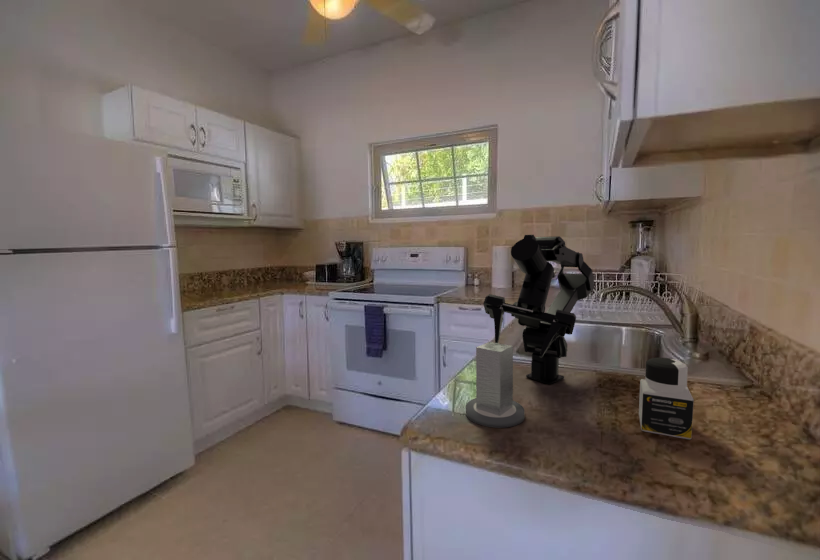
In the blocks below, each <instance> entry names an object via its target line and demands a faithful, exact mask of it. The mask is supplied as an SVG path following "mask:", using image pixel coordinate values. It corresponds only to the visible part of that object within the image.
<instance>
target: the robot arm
mask: <svg viewBox="0 0 820 560" xmlns="http://www.w3.org/2000/svg"><path fill="white" fill-rule="evenodd" d="M510 255H511V257H512V259H513V260H514V262H515V263H516V265H517V266H518V267H519V270H520V272H522V273H524V274H525V275H524V279H523V282H522V285H521V288H520V291H519V295H518V299H517V301H514V303H513V304H510V303H506V299H505V297H504V296H499V295H495V294H491V293H489V294H487V295H486V296H485V299H484V301H483V304H482V305H483V309H484V311H485V314H487V315H489V318H490V319H492V320H493V323H494V343H499V341H500V336H501V330H502V326H503V321H504V314H505V313H507V314H509V315H510V316H511V317H513V318H515V319H517V323H518V325H520V326H521V327H524V326H525V327H524V329H523V332H522V343H523V349H524V352H525V353H531V362H530V363H531V366H530V370H531V371H530V373H528V374H526V375H525V377H526V378H528V379H530V380H534V381H537V382H540V383H543V384H547V385H551V384H554V383H556V382H559V381H562V380H564V379H565V376H564V375H562V374H559V362H560V361H559V360H560V359H562V358H567V357H568V356H567V355H568V353H567V352H568V343H567V340H566V339H565V335H573V332H574V328H575V324H576V319H577V316H576V314H575V313H574V312H572V310H573V309H574V307H575V306H576V304H577V302H578V301H580V300H584V299H586V298H588V297H589V295H590V294H591V292H593V291H594V288H595V280H594V279H595V278H594V274H593V269H592V268H591V267H590V266H589V264H587V262H585V260H584V256H583V253H580V252H579V251H576V250H573V249H571V248H568V247H567V246H566V241H565V240H564V239H563V238H562V237H561V236H536V235H535V234H524V235H523V238H522V239H520V240H518V241H516V243H514V244H513V246H511V248H510ZM551 262H553V263H555V264H558V265H560V269H559V272H558V274H557V282H558V286H559V292H558V294H557V295H556V296H555V298H554V300H553V301H552V302H551V304H550V306H549V307H548V309H547V310H546V302H547V299H548V295H549V292H550V288H551V284H552V280H553V279H554V278H555V277H556V274H555V268H554V266H553V265H552V263H551ZM565 268H577V269H578V270H579V272H580V273H573V272H572V273H570V272H569V273H568V272H564V269H565Z"/></svg>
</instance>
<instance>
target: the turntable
mask: <svg viewBox="0 0 820 560" xmlns="http://www.w3.org/2000/svg"><path fill="white" fill-rule="evenodd" d="M465 415H466V417H467V418H468V420H469V421H471V422H473V423H475V424H477V425H480V426H483V427H488V428H496V429H499V428H500V429H502V428H506V429H507V428H512V427H516V426H519V424H522V423H523V422H524V420H525V407H524V406H523V405H522V404H520V403H519V402H518V401H515V400H513V407H512V408H510V409H509V410H508V411H506V412H505V413H503V414H502V415H501V416H499V415H495V414H492V413H489V412H486V411H483V410H479V409H476V397H475V398H472V399H470V400H469V401H468V402H467V403H466V404H465Z"/></svg>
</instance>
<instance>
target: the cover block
mask: <svg viewBox="0 0 820 560" xmlns="http://www.w3.org/2000/svg"><path fill="white" fill-rule="evenodd" d="M475 347H476V346H475ZM475 352H476V353H475V354H476V355H475V362H476V363H475V365H476V367H475V368H476V369H475V370H476V371H475V373H476V374H475V381H476V382H475V383H476V386H475V387H476V389H475V390H476V391H475V393H476V394H475V395H476V396H475V398H476V409H479V410H483V411H486V412H489V413H492V414H495V415H499V416H501V415H502V414H503V413H505V412H506V411H508V410H509V409H510V408H512V407H513V401H514V400H513V399H514V398H513V397H514V396H513V394H514V393H513V392H514V391H513V390H514V389H513V388H514V387H513V385H514V383H513V382H514V375H513V374H514V346H513V345H512V344H511V345H508V344H505V343H499V342H498V343H495V341H494V342H492V341H488V342H485V343H483V344H481V345H478V346H477V347H476V349H475Z"/></svg>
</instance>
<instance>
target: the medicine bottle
mask: <svg viewBox="0 0 820 560" xmlns="http://www.w3.org/2000/svg"><path fill="white" fill-rule="evenodd" d="M688 371H689V367H688V365H687V364H686V363H684V362H682V361H680V360H677V359H675V358H674V359H673V358H670V357H651V358H649V359H647V360H646V361H645V378H641V379H640V381H639V399H638V400H639V401H638V404H639V406H638V418H639V424H640V430H641V431H642V432H646V433H651V434H656V435H663V436H666V437H667V436H668V437H672V438H673V437H674V438H678V439H684V440H692V435H693V421H694V420H693V418H694V404H695V403H694V401H695V400H694V397H693V396H692V393H691V392H690V389H689V387H688V373H689V372H688Z"/></svg>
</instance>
